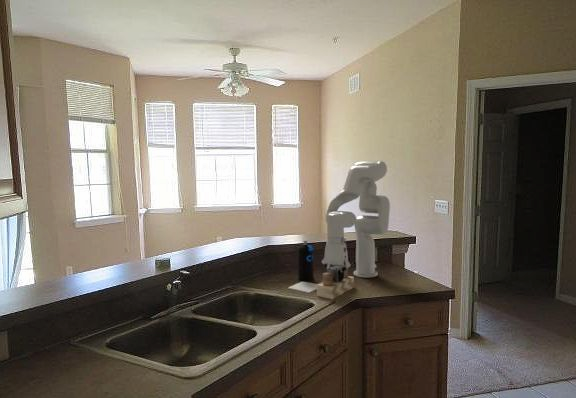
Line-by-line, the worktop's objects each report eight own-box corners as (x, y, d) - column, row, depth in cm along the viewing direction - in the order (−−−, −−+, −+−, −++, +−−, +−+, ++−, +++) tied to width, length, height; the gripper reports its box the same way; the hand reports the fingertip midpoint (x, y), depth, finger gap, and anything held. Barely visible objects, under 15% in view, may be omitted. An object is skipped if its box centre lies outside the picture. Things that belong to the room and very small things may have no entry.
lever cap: (335, 276, 179) (334, 264, 178) (344, 277, 176) (344, 265, 175) (327, 279, 173) (327, 267, 173) (336, 281, 170) (336, 268, 170)
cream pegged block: (339, 284, 185) (338, 260, 185) (353, 287, 181) (353, 262, 180) (316, 295, 170) (316, 269, 169) (332, 299, 165) (332, 272, 164)
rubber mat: (302, 282, 190) (302, 281, 190) (322, 286, 183) (322, 285, 183) (288, 288, 181) (288, 287, 181) (308, 293, 173) (308, 292, 173)
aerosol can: (295, 280, 194) (295, 241, 192) (301, 276, 201) (300, 238, 200) (310, 281, 191) (310, 242, 189) (315, 277, 198) (315, 239, 197)
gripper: (356, 240, 171) (356, 280, 173) (323, 237, 181) (324, 274, 183) (348, 243, 165) (348, 284, 167) (315, 239, 175) (315, 278, 177)
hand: (335, 278), depth 175 cm, fingers closed on lever cap, 5 cm apart
